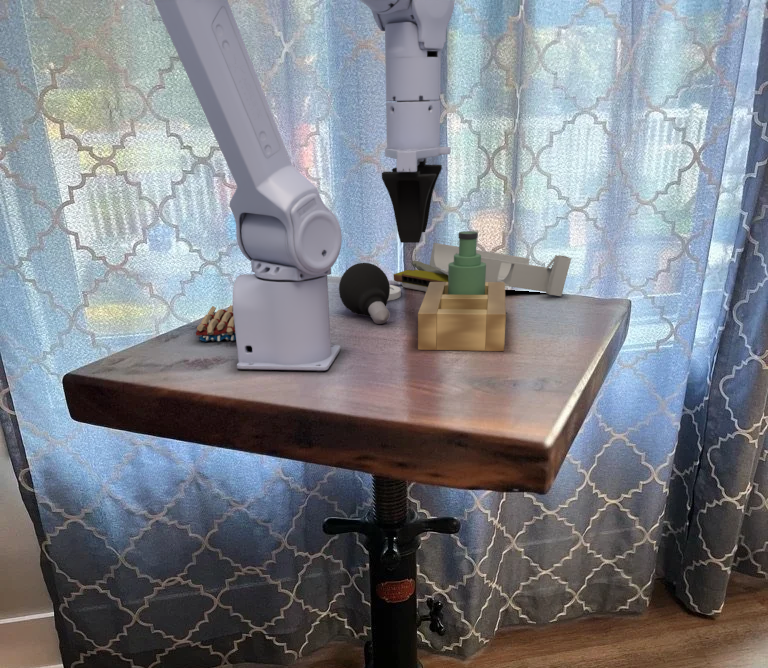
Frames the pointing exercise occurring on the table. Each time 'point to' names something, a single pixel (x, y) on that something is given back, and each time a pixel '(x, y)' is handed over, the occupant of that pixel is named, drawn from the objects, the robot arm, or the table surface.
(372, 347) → the table surface
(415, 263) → the stone
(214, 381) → the table surface
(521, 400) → the table surface
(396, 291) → the pendant
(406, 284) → the harmonica
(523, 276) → the skate ramp
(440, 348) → the hole block
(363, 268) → the light bulb
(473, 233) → the bottle
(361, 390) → the table surface
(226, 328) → the woven mat
